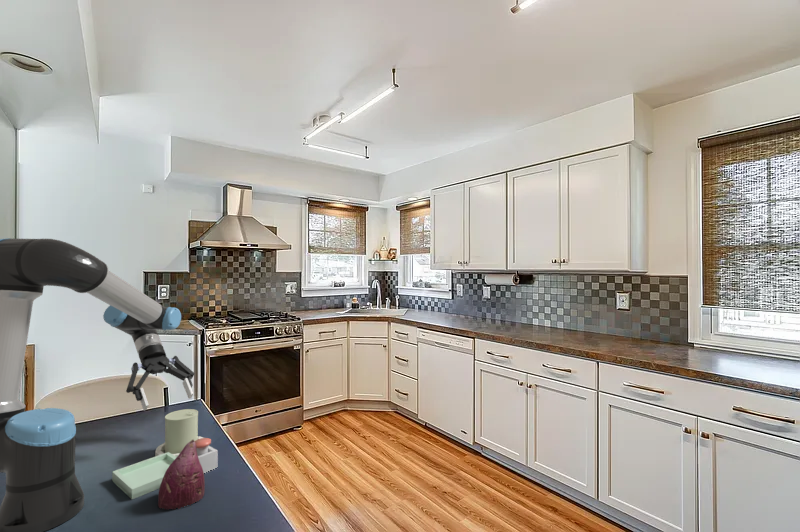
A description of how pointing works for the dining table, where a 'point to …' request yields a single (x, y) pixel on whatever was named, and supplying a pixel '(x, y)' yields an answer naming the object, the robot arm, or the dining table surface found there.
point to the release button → (202, 445)
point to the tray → (143, 475)
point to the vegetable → (182, 480)
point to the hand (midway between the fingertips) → (169, 402)
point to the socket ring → (161, 449)
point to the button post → (209, 459)
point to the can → (180, 429)
